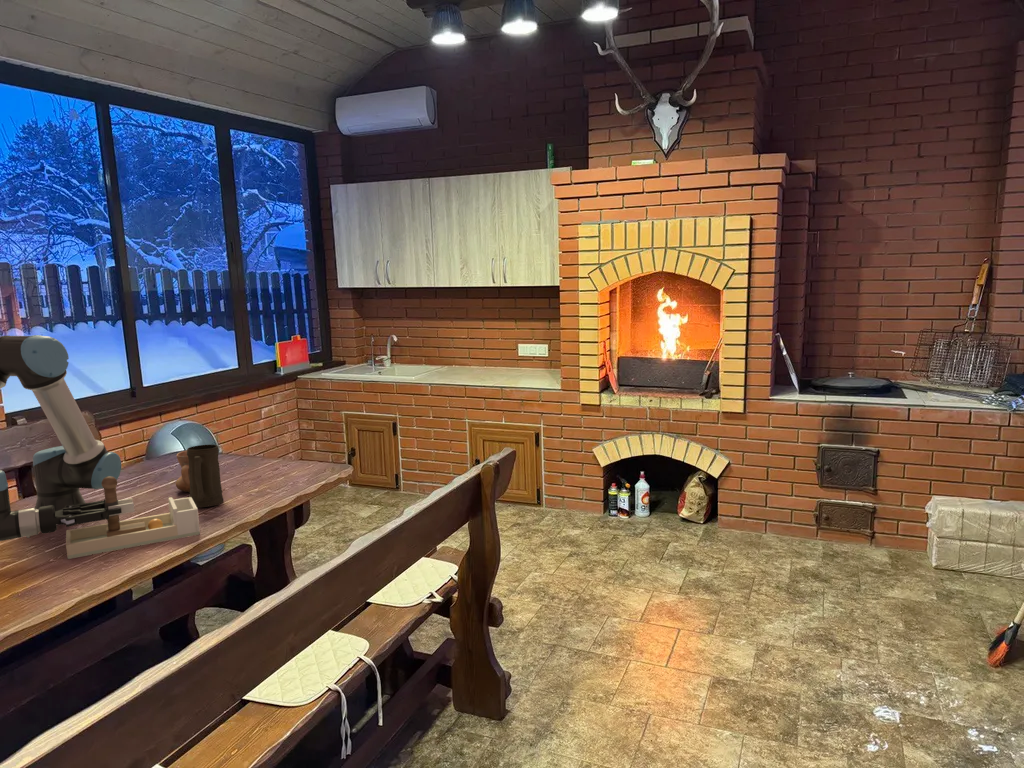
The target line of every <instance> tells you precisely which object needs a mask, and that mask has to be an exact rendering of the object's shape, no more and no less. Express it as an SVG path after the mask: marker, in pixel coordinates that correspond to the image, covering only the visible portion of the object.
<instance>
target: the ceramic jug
mask: <svg viewBox="0 0 1024 768" xmlns="http://www.w3.org/2000/svg"><path fill="white" fill-rule="evenodd" d="M176 460H177V461H178V463H179V465H180V467H181V469H180V470H181V471H180V476H179V477H178V478H177V480H176V481H175V487H176V489H178V490H179V491H181V492H185V493H190V474H189V460H188V456H187V449H186V450H183V451H179V452H178V453H177V454H176Z"/></svg>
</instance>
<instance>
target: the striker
mask: <svg viewBox="0 0 1024 768" xmlns="http://www.w3.org/2000/svg"><path fill="white" fill-rule="evenodd" d="M101 484H102V487H103V488H104V489H103V492H104V499H105V508H108V507H109V506H115V505H118V500H119V499H118V495H117V494H118V493H117V486H118V479H117V480H116V478H114V477H112V476H108V477H105V478H104V479H103V480H102V483H101ZM106 521H107V523H108V528H106V531H107V537H110V536H116V535H121V534H127V533H132V532H138V531H144V530H146V526H145V523H144V522H139V523H133V524H127V525H121V526H120V522H119V521H120V515H114V516H109V519H108V520H106Z"/></svg>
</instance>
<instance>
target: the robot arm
mask: <svg viewBox="0 0 1024 768" xmlns="http://www.w3.org/2000/svg"><path fill="white" fill-rule="evenodd" d="M68 360H69V354H68V351H67V349H66V347H65V346H64V344H63V343H62V342H61V341H59V340H58V339H56V338H55V337H52V336H45V335H38V334H37V335H36V334H35V335H0V390H1V389H2V388H4V387H6V386H7V383H8V382H7V381H8V379H9V378H10V377H17V379H18V380H19V382H20V383H21V386H22V387H23V388H24V389H25V390H30V391H31V392H32V393H33V395H34V396H35V398H36V401H37V402H38V404H39V406H40V408H41V409H42V411H43V413H44V415H45V416H46V418H47V421H48V423H49V424H50V425H51V427H52V429H53V432H54V433H55V435H56V437H57V439H58V440H59V442H60V444H61V445H60V446H53V447H50V448H46V449H42V450H39V451H37V452H35V453H34V454H33V456H32V468H33V477H34V484H35V489H36V497H37V498H36V501H35V505H34V507H31V508H24V509H17V510H12V509H11V503H10V494H9V493H10V491H9V482H8V480H7V476H6V473H5V471H4V470H1V469H0V542H2V541H3V542H4V541H8V540H13V539H20V538H25V537H26V538H28V539H29V538H31V536H38V535H39V534H40V533H41V534H42V535H43V534H44V535H45V534H48V533H49V534H50V533H54V532H56V531H58V526H59V525H64V526H65V527H66V528H69V527H73V526H76V525H83V524H87V523H92V522H93V523H94V522H97V521H98V522H99V521H107V520H108V519H109V516H114V515H119V516H120V515H125V514H131V513H135V512H136V511H135V510H136V509H135V504H134V501H133V498H132V497H131V498H123V499H117V500H118V505H115V506H109V507H108V508H105V498H104V499H102V500H97V501H90V502H86V501H85V498H84V496H82V494H81V492H80V489H89V490H90V489H91V490H93V489H94V490H101V489H102V490H104V488H103V487H102V484H101V483H102V480H103V479H104V478H105V477H108V476H112V477H114V478H116V480H117V481H118V479H119V477H120V476H121V471H122V460H121V457H120V455H119V454H118V453H116V452H113V451H108V450H107V448H106V446H105V444H104V442H102V441H101V440H99V439H95V436H94V434H93V433H92V431H91V428H90V427H89V425H88V423H87V420H86V419H85V417H84V415H83V413H82V411H81V409H80V408H79V405H78V403H77V401H76V399H75V398H74V396H73V394H72V391H71V390H70V388H69V386H68V384H67V382H66V380H65V377H66V375H67V369H68V367H69V361H68Z"/></svg>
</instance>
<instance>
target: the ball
mask: <svg viewBox="0 0 1024 768" xmlns="http://www.w3.org/2000/svg"><path fill="white" fill-rule="evenodd" d="M161 527H163V522H162V521H161V520H160V519H152V520H151V521H150V522H149V524H148V528H149V529H155V528H161Z"/></svg>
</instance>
